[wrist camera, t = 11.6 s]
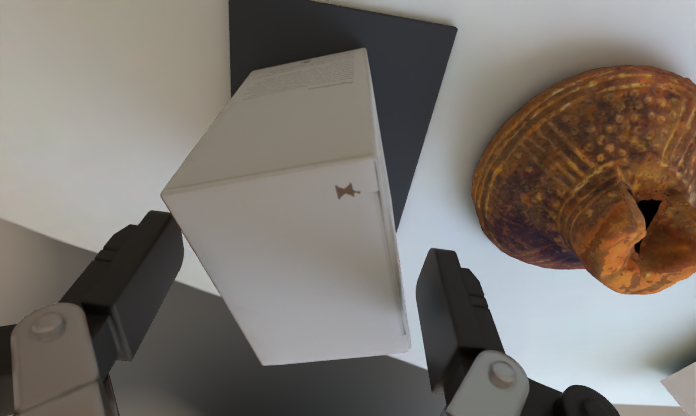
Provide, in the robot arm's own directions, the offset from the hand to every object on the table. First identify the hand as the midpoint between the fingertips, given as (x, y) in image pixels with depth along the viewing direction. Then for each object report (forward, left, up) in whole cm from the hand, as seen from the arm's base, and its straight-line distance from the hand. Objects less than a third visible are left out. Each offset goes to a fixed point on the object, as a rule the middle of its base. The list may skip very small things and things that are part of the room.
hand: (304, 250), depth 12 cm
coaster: (0, 0, -9) cm, 9 cm away
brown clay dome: (+14, 0, -10) cm, 17 cm away
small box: (0, 0, -9) cm, 9 cm away
